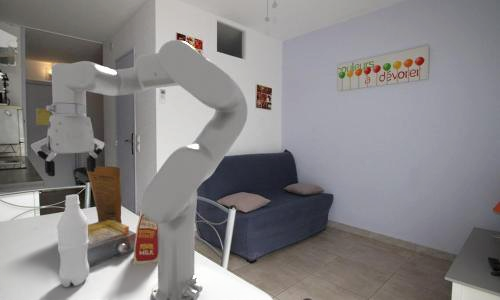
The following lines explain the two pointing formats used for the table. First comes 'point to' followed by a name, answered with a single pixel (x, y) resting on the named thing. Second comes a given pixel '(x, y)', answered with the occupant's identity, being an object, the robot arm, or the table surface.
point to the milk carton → (146, 241)
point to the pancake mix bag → (107, 192)
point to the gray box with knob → (108, 241)
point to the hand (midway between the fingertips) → (72, 173)
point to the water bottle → (73, 243)
